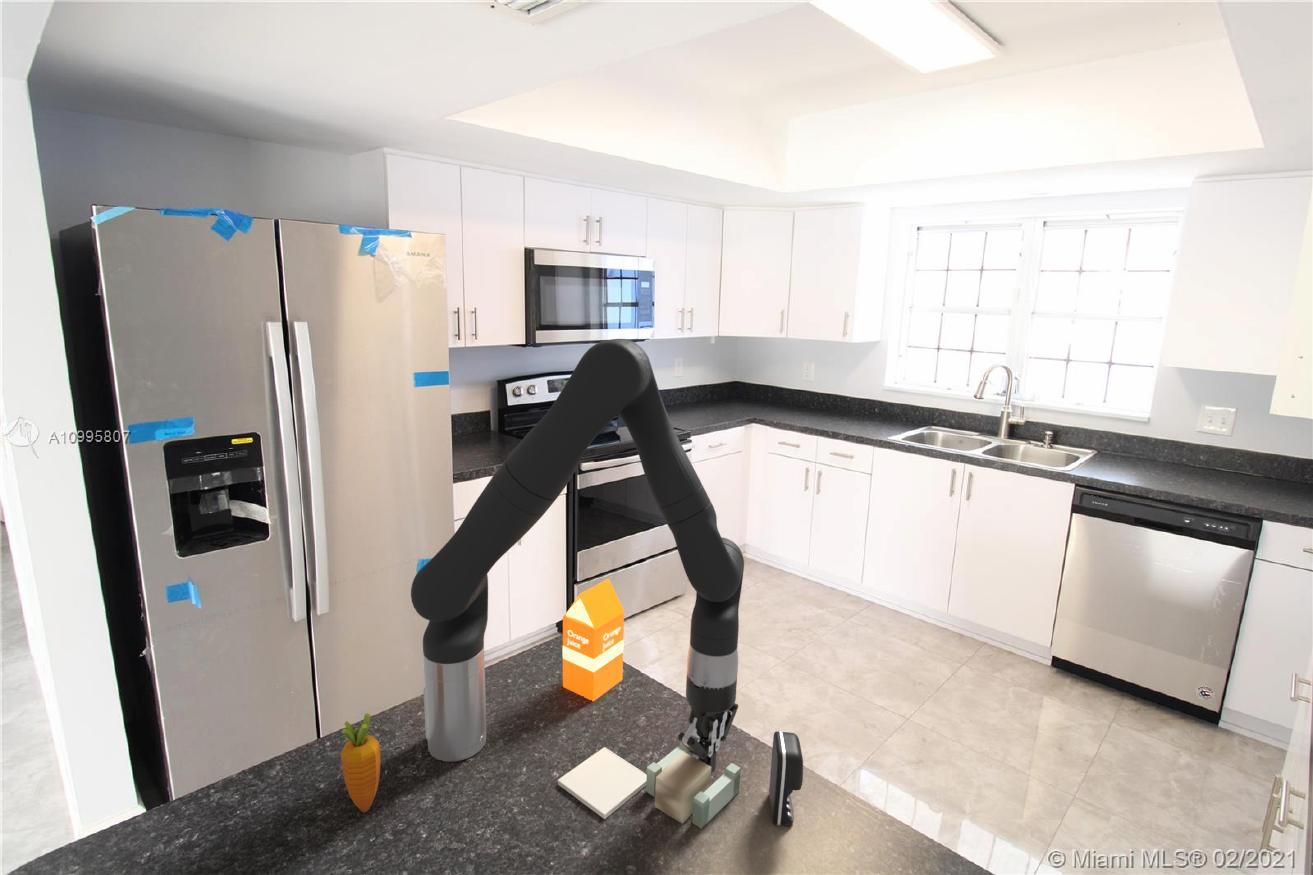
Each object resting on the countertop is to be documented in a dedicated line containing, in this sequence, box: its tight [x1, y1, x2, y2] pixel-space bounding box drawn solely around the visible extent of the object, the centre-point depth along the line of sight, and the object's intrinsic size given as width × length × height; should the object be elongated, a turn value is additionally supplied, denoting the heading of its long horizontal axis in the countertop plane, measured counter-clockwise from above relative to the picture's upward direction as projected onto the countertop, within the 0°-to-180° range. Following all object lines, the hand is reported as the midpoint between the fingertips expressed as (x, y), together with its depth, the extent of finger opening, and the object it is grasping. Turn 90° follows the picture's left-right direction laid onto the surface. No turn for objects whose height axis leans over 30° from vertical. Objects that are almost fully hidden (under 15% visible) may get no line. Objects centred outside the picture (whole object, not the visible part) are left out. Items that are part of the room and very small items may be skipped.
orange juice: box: [562, 578, 625, 702], centre depth 124 cm, size 8×9×20 cm
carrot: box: [340, 713, 381, 813], centre depth 93 cm, size 5×5×15 cm
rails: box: [645, 741, 741, 829], centre depth 100 cm, size 10×10×4 cm
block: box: [654, 752, 712, 825], centre depth 98 cm, size 5×7×5 cm
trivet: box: [557, 746, 647, 820], centre depth 101 cm, size 10×10×1 cm
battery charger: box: [768, 730, 804, 826], centre depth 96 cm, size 7×4×11 cm, turn 175°
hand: (706, 771), depth 103 cm, fingers closed
